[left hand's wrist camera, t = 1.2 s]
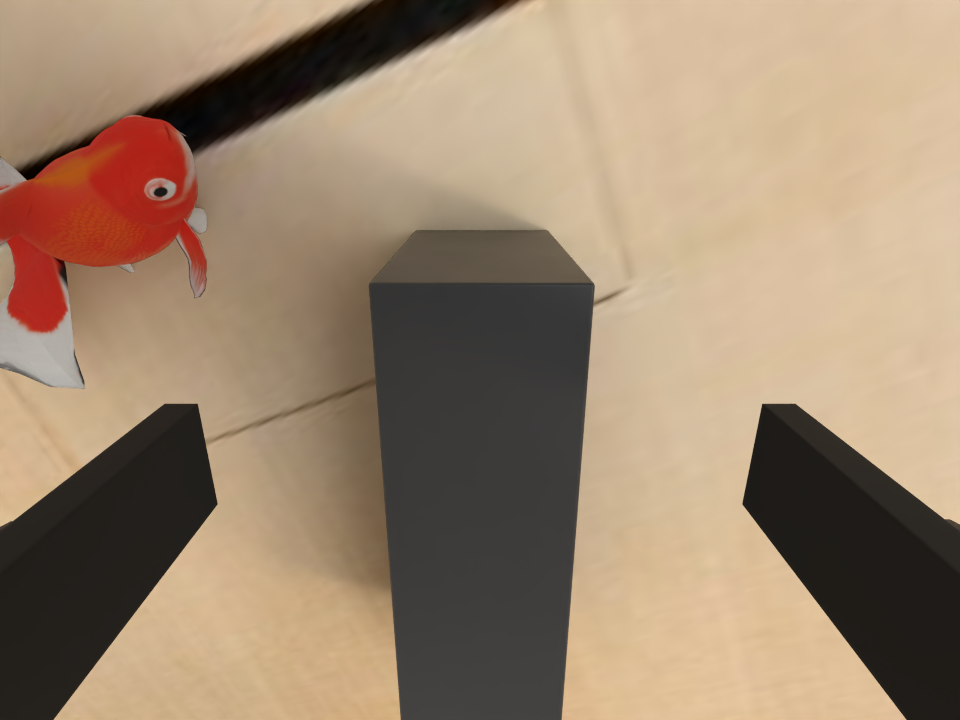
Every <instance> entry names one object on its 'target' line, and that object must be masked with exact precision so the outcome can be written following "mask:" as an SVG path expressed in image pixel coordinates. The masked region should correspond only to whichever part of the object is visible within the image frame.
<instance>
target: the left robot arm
mask: <svg viewBox="0 0 960 720" xmlns="http://www.w3.org/2000/svg"><path fill="white" fill-rule="evenodd" d="M216 506H217V499H216V494H215V489H214V484H213V479H212V474H211V469H210V464H209V459H208V453H207V448H206V443H205V438H204V433H203V428H202V423H201V418H200V413H199V408H198V404H164V405H163V406H161V407H160V408H159V409H157V410H156V411H155V412H154V413H152V414H151V415H150V416H148V417H147V418H146V419H144V420H143V421H142V422H141V423H139V424H138V425H137V426H135V427H134V428H133V429H132V430H130V431H129V432H128V433H126V434H125V435H124V436H123V437H121V438H120V439H119V440H117V441H116V442H115V443H113V444H112V445H111V446H110V447H108V448H107V449H106V450H104V451H103V452H102V453H101V454H99V455H98V456H97V457H95V458H94V459H93V460H92V461H90V462H89V463H88V464H86V465H85V466H84V467H82V468H81V469H80V470H79V471H77V472H76V473H75V474H73V475H72V476H71V477H70V478H68V479H67V480H66V481H64V482H63V483H62V484H61V485H59V486H58V487H57V488H55V489H54V490H53V491H51V492H50V493H49V494H48V495H46V496H45V497H44V498H42V499H41V500H40V501H39V502H37V503H36V504H35V505H33V506H32V507H31V508H30V509H28V510H27V511H26V512H24V513H23V514H22V515H20V516H19V517H18V518H17V519H15V520H14V521H11V522H9V523H7V524H5V525H3V526H1V527H0V720H54V718H55V717H56V716H57V714H58V713H59V712H60V710H61V709H62V708H63V706H64V705H65V704H66V702H67V701H68V700H69V699H70V697H71V696H72V695H73V693H74V692H75V691H76V689H77V688H78V687H79V685H80V684H81V683H82V681H83V680H84V679H85V678H86V676H87V675H88V674H89V672H90V671H91V670H92V668H93V667H94V666H95V664H96V663H97V662H98V660H99V659H100V658H101V657H102V655H103V654H104V653H105V651H106V650H107V649H108V647H109V646H110V645H111V643H112V642H113V641H114V639H115V638H116V637H117V636H118V634H119V633H120V632H121V630H122V629H123V628H124V626H125V625H126V624H127V622H128V621H129V620H130V618H131V617H132V616H133V615H134V613H135V612H136V611H137V609H138V608H139V607H140V605H141V604H142V603H143V601H144V600H145V599H146V597H147V596H148V595H149V594H150V592H151V591H152V590H153V588H154V587H155V586H156V584H157V583H158V582H159V580H160V579H161V578H162V576H163V575H164V574H165V573H166V571H167V570H168V569H169V567H170V566H171V565H172V563H173V562H174V561H175V559H176V558H177V557H178V555H179V554H180V553H181V552H182V550H183V549H184V548H185V546H186V545H187V544H188V542H189V541H190V540H191V538H192V537H193V536H194V534H195V533H196V532H197V531H198V529H199V528H200V527H201V525H202V524H203V523H204V521H205V520H206V519H207V517H208V516H209V515H210V513H211V512H212V511H213V510H214V508H215V507H216ZM743 506H744V507H745V508H746V510H747V511H748V512H749V513H750V515H751V516H752V517H753V519H754V520H755V521H756V523H757V524H758V525H759V527H760V528H761V529H762V531H763V532H764V533H765V534H766V536H767V537H768V538H769V540H770V541H771V542H772V544H773V545H774V546H775V548H776V549H777V550H778V552H779V553H780V554H781V555H782V557H783V558H784V559H785V561H786V562H787V563H788V565H789V566H790V567H791V569H792V570H793V571H794V573H795V574H796V575H797V576H798V578H799V579H800V580H801V582H802V583H803V584H804V586H805V587H806V588H807V590H808V591H809V592H810V594H811V595H812V596H813V597H814V599H815V600H816V601H817V603H818V604H819V605H820V607H821V608H822V609H823V611H824V612H825V613H826V615H827V616H828V617H829V618H830V620H831V621H832V622H833V624H834V625H835V626H836V628H837V629H838V630H839V632H840V633H841V634H842V636H843V637H844V638H845V639H846V641H847V642H848V643H849V645H850V646H851V647H852V649H853V650H854V651H855V653H856V654H857V655H858V657H859V658H860V659H861V660H862V662H863V663H864V664H865V666H866V667H867V668H868V670H869V671H870V672H871V674H872V675H873V676H874V678H875V679H876V680H877V681H878V683H879V684H880V685H881V687H882V688H883V689H884V691H885V692H886V693H887V695H888V696H889V697H890V699H891V700H892V701H893V702H894V704H895V705H896V706H897V708H898V709H899V710H900V712H901V713H902V714H903V716H904V717H905V718H906V720H960V524H958V523H956V522H954V521H952V520H950V519H943V518H942V517H941V516H940V515H938V514H937V513H936V512H934V511H933V510H932V509H930V508H929V507H928V506H927V505H925V504H924V503H923V502H921V501H920V500H919V499H918V498H916V497H915V496H914V495H912V494H911V493H910V492H909V491H907V490H906V489H905V488H903V487H902V486H901V485H899V484H898V483H897V482H896V481H894V480H893V479H892V478H890V477H889V476H888V475H887V474H885V473H884V472H883V471H881V470H880V469H879V468H878V467H876V466H875V465H874V464H872V463H871V462H870V461H868V460H867V459H866V458H865V457H863V456H862V455H861V454H859V453H858V452H857V451H856V450H854V449H853V448H852V447H850V446H849V445H848V444H847V443H845V442H844V441H843V440H841V439H840V438H839V437H837V436H836V435H835V434H834V433H832V432H831V431H830V430H828V429H827V428H826V427H825V426H823V425H822V424H821V423H819V422H818V421H817V420H816V419H814V418H813V417H812V416H810V415H809V414H808V413H806V412H805V411H804V410H803V409H801V408H800V407H799V406H797V405H796V404H762V408H761V413H760V418H759V423H758V428H757V433H756V438H755V443H754V448H753V453H752V459H751V464H750V469H749V474H748V479H747V484H746V489H745V494H744V499H743Z"/></svg>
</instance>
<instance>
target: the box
mask: <svg viewBox="0 0 960 720" xmlns="http://www.w3.org/2000/svg"><path fill="white" fill-rule="evenodd" d="M594 289H595V285H594V283H593V282H592V281H591V280H590V279H589V277H588V276H587V275H586V274H585V273H584V272H583V270H582V269H581V268H580V267H579V266H578V265H577V264H576V262H575V261H574V260H573V259H572V258H571V257H570V256H569V254H568V253H567V252H566V251H565V250H564V249H563V247H562V246H561V245H560V244H559V243H558V242H557V241H556V239H555V238H554V237H553V236H552V235H551V234H550V233H549V231H510V230H417V231H415V232H414V233H413V234H412V236H411V237H410V238H409V239H408V240H407V241H406V242H405V244H404V245H403V246H402V247H401V248H400V249H399V250H398V252H397V253H396V254H395V255H394V256H393V257H392V258H391V260H390V261H389V262H388V263H387V264H386V265H385V266H384V268H383V269H382V270H381V271H380V272H379V273H378V274H377V276H376V277H375V278H374V279H373V280H372V281H371V282H370V284H369V295H370V308H371V322H372V335H373V349H374V362H375V376H376V389H377V403H378V416H379V430H380V443H381V457H382V471H383V484H384V498H385V511H386V525H387V538H388V552H389V565H390V579H391V592H392V606H393V619H394V633H395V646H396V660H397V674H398V687H399V701H400V714H401V720H562V707H563V694H564V681H565V668H566V655H567V642H568V628H569V615H570V602H571V589H572V576H573V563H574V550H575V537H576V524H577V511H578V498H579V485H580V472H581V459H582V446H583V433H584V419H585V406H586V393H587V380H588V367H589V354H590V341H591V328H592V315H593V302H594Z"/></svg>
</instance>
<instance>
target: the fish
mask: <svg viewBox="0 0 960 720" xmlns="http://www.w3.org/2000/svg"><path fill="white" fill-rule="evenodd" d="M182 135H183V136H186V135H184V134H182V133H181V132H179V131H178V130H176V129H175V128H174V127H173V126H172V125H171V124H169V123H168V122H165V121H163V120H160V119H152V118H147V117H143V116H138V115H130V116H126V117H124V118H122V119H120V120H119V121H118V122H117V123H115V124H114V125H113V126H111V127H109V128H107V129H105V130H104V131H102V132H101V133H100V134H99V135H98V136H97V137H96V138H95V139H94V140H93V141H92V143H91V144H90V145H89V146H87V147H84V148H80V149H77V150H75V151H72V152H70V153H68V154H66V155H64V156H62V157H60V158H57V159H56V160H54V161H53V162H51V163H50V164H49V165H48V166H47V167H45V168H44V169H43V170H42V171H41V172H40V173H39V174H38V175H37V176H36V177H35V178H34V179H31V180H26V179H25V178H24V177H23V176H22V175H21V174H20V173H19V172H18V171H17V170H16V169H14V168H13V167H12V166H11V165H10V164H8V163H7V162H6V161H5V160H4V159H2V158H1V157H0V244H2V243H4V242H5V241H7V243H8V245H9V246H10V248H11V251H12V255H13V259H14V267H15V275H14V281H13V284H12V286H11V289H10V291H9V293H8V295H7V296H6V298H5V299H4V300H3V301H2V302H1V304H0V368H3V369H6V370H9V371H13V372H16V373H20V374H22V375H24V376H27V377H29V378H31V379H34V380H36V381H38V382H40V383H43V384H45V385H47V386H50V387H63V388H80V389H85V386H84V380H83V377H82V374H81V371H80V368H79V365H78V362H77V359H76V356H75V350H74V340H73V330H72V321H71V312H70V303H69V294H68V285H67V275H66V267H65V263H64V261H67V262H71V263H76V264H81V265H86V266H93V267H102V266H118V267H120V268H122V269H124V270H126V271H128V272H130V273H133V272H135V271H134V270H133V268H132V266H131V263H135V262H139V261H141V260H143V259H146V258H148V257H150V256H152V255H155V254H157V253H159V252H160V251H162V250H163V249H164V248H166V247H167V246H168V245H169V244H170V243H171V242H172V241H173V240H174V239H175V238H176V239H177V241H178V243H179V245H180V247H181V248H182V250H183V251H184V253H185V255H186V256H187V258H188V263H189V277H190V284H191V287H192V290H193V292H194V298H197V297H200V296H201V295H202V293H203V292H204V291H205V286H206V280H207V279H206V270H207V260H206V257H205V254H204V251H203V248H202V245H201V242H200V240H199V238H198V237H197V235H196V234H195V232H194V231H193V230H195V231H196V232H198V233H203V232H205V231H206V229H207V218H206V212H205V210H204V209H201V208H195V204H196V200H197V196H198V188H197V178H196V168H195V163H194V158H193V155H192V152H191V150H190V148H189V146H188V145H187V143H186V141H185V139H184V138H183V136H182ZM186 137H187V136H186Z"/></svg>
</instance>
